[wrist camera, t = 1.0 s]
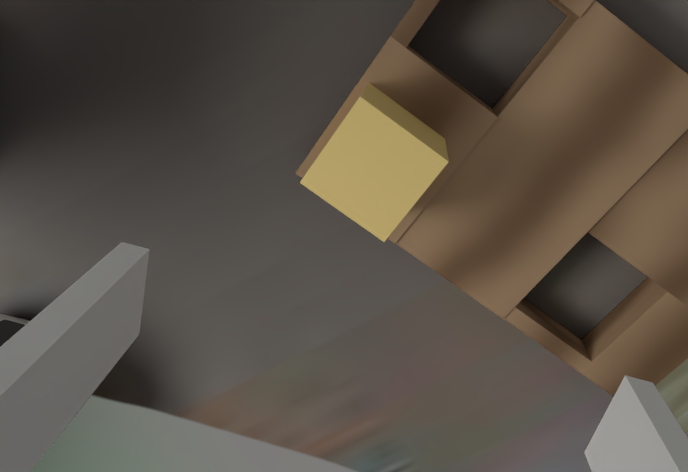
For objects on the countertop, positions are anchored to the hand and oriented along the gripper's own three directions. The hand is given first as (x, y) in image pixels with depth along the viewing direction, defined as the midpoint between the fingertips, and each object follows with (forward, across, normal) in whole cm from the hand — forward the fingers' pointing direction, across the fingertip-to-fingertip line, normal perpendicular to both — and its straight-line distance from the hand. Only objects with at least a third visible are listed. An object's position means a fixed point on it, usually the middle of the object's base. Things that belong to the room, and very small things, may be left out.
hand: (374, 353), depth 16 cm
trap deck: (+20, +10, +1) cm, 23 cm away
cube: (+18, -1, +1) cm, 18 cm away
